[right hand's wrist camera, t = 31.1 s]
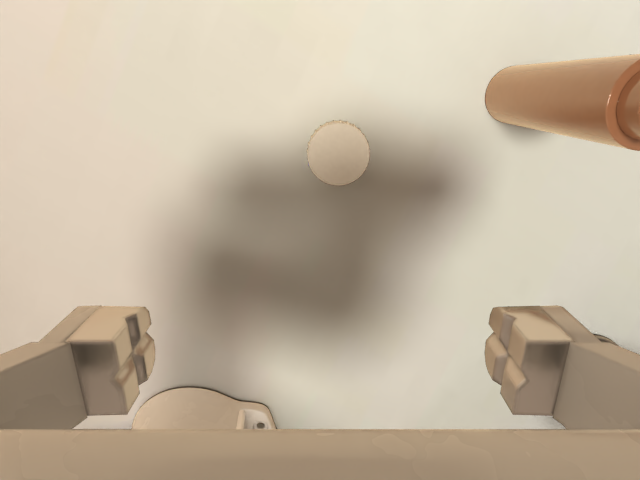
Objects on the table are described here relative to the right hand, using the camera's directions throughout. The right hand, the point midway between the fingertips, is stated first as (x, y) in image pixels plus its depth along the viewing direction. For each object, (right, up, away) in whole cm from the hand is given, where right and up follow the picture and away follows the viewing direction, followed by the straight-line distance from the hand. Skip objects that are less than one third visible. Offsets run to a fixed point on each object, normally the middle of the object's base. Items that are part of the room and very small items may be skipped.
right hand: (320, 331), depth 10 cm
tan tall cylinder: (+16, +14, +26) cm, 34 cm away
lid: (+2, +9, +26) cm, 28 cm away
